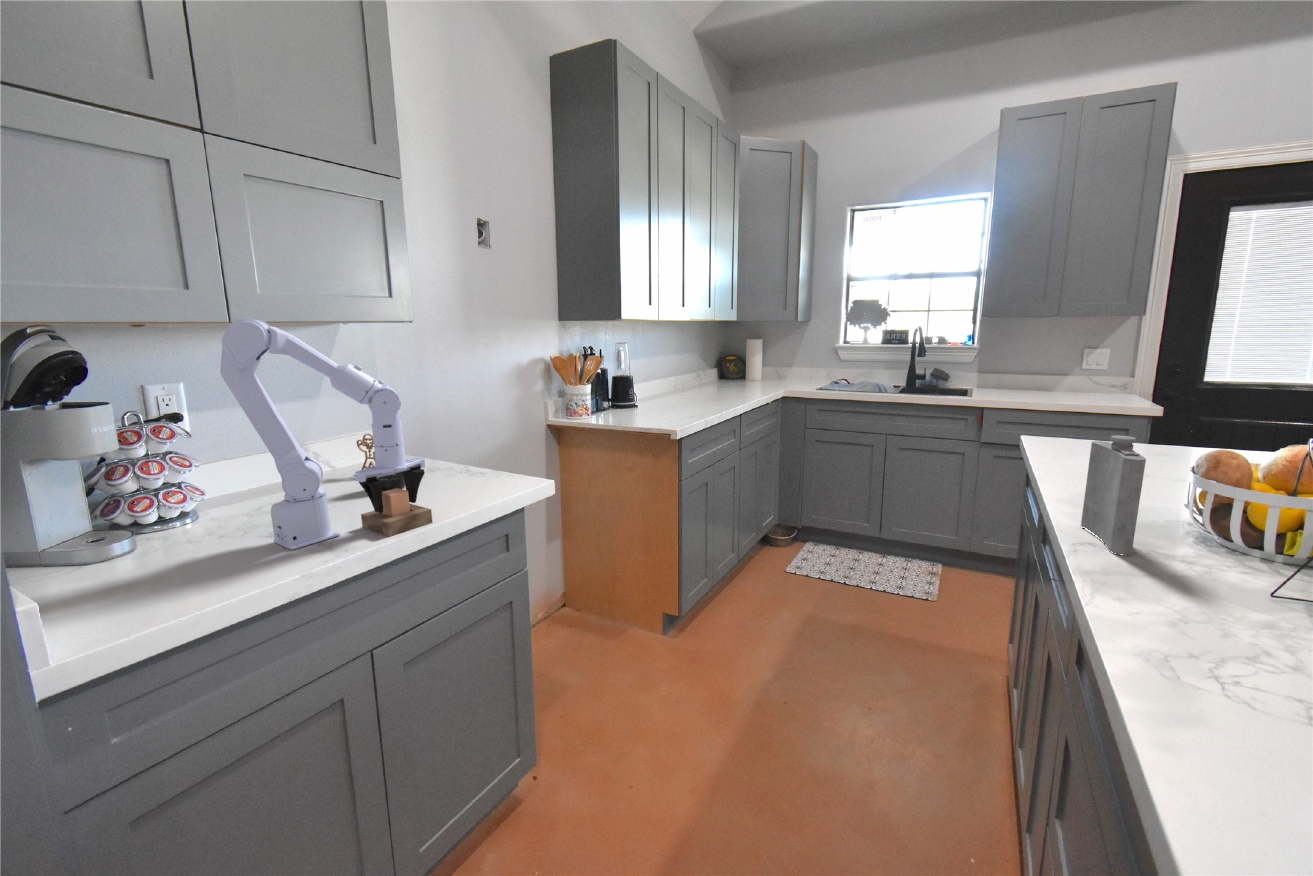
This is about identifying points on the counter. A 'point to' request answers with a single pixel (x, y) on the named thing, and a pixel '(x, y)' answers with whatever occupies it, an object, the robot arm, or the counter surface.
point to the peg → (395, 502)
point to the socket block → (397, 521)
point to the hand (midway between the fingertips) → (395, 506)
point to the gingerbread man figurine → (368, 450)
